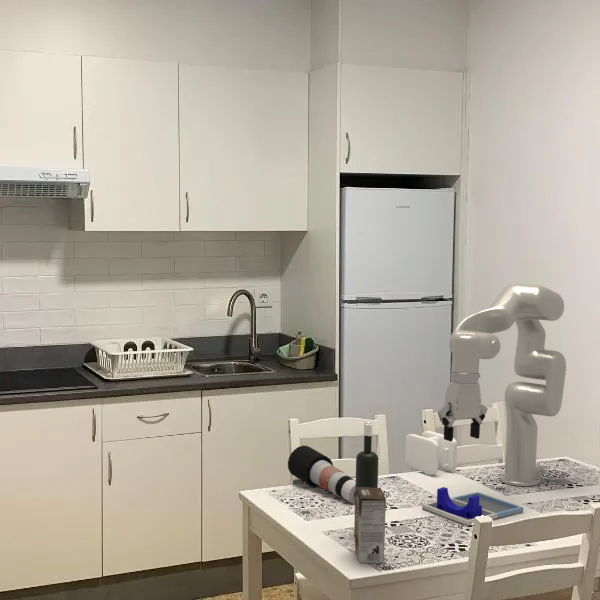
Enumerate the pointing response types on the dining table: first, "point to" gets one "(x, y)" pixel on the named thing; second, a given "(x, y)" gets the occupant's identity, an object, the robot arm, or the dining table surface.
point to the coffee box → (370, 525)
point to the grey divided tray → (489, 504)
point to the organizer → (430, 453)
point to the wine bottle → (366, 464)
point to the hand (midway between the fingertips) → (461, 438)
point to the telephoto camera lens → (320, 472)
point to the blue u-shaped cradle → (465, 511)
